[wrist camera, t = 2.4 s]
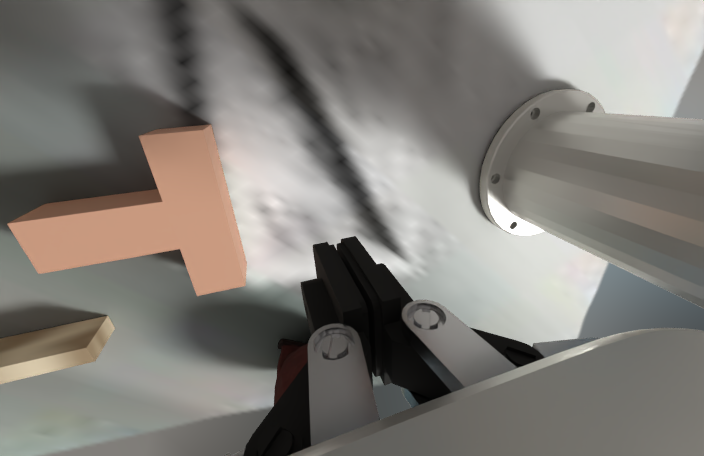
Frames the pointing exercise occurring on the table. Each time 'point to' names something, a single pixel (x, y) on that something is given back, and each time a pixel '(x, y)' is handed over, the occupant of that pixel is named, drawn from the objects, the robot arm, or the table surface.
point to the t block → (149, 217)
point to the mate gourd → (289, 364)
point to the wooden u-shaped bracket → (53, 348)
